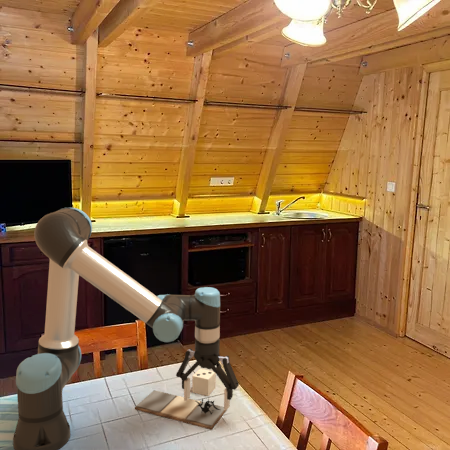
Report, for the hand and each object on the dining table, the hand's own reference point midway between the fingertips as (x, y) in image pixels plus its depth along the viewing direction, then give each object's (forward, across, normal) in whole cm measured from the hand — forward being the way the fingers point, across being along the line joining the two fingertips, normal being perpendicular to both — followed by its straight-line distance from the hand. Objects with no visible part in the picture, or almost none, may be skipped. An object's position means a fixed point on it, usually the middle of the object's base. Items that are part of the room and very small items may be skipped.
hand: (206, 403), depth 146 cm
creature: (+3, 0, -1) cm, 4 cm away
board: (+4, +9, 0) cm, 10 cm away
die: (+4, +8, -14) cm, 16 cm away
